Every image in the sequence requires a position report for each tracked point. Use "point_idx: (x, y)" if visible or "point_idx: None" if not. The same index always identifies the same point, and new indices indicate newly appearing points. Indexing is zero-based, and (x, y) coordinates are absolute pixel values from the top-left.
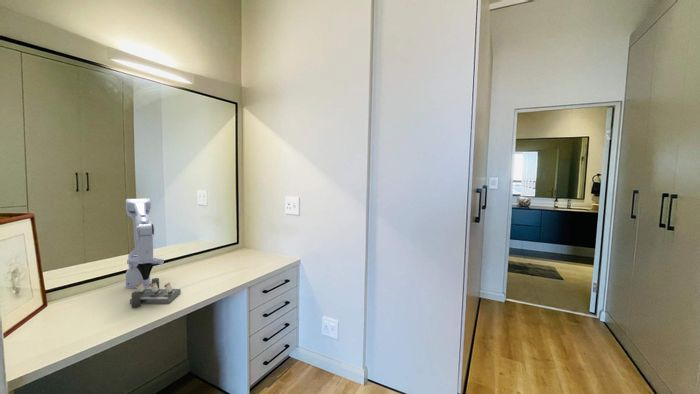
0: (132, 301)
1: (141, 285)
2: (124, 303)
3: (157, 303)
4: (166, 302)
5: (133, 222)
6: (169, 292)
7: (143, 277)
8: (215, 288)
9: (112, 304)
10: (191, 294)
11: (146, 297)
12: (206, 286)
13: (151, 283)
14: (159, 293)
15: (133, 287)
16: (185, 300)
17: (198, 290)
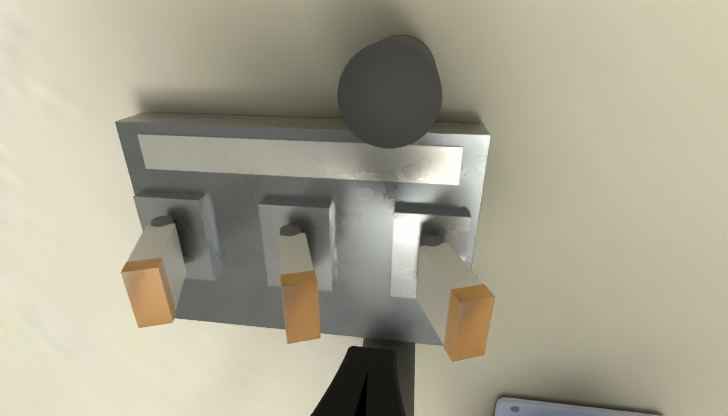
0: (416, 43)
1: (441, 316)
2: (545, 145)
3: (234, 115)
4: (154, 115)
5: None
6: (151, 221)
7: (380, 378)
8: (22, 341)
9: (657, 128)
10: (104, 271)
11: (344, 172)
12: (98, 373)
13: None
14: (262, 235)
15: (594, 411)
16: (72, 175)
17: (104, 325)
